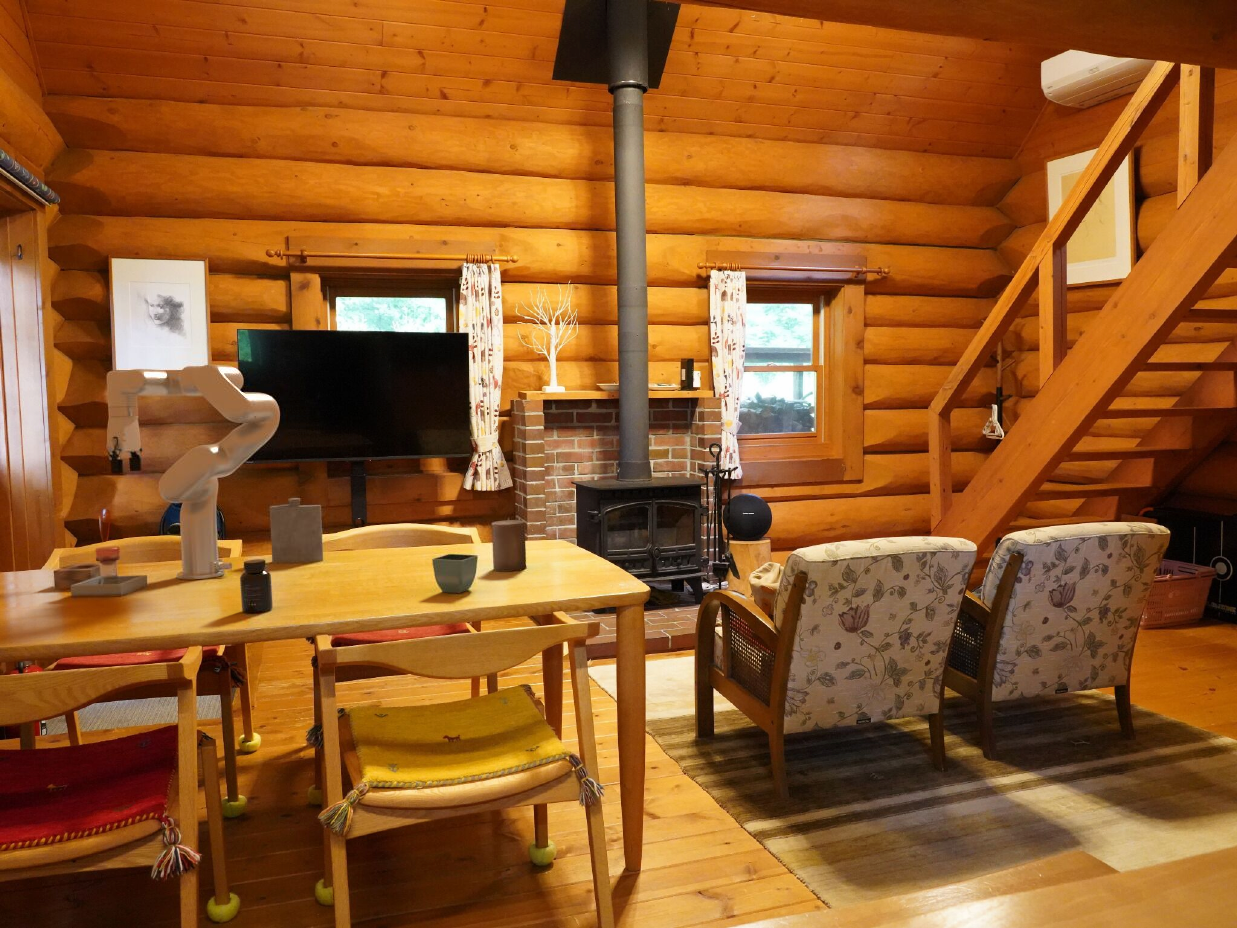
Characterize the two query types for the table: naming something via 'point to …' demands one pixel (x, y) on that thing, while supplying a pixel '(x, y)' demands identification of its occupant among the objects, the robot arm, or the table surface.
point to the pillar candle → (509, 545)
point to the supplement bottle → (256, 587)
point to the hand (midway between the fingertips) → (126, 472)
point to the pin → (108, 564)
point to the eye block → (75, 575)
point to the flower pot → (455, 572)
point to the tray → (108, 586)
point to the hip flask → (296, 533)
